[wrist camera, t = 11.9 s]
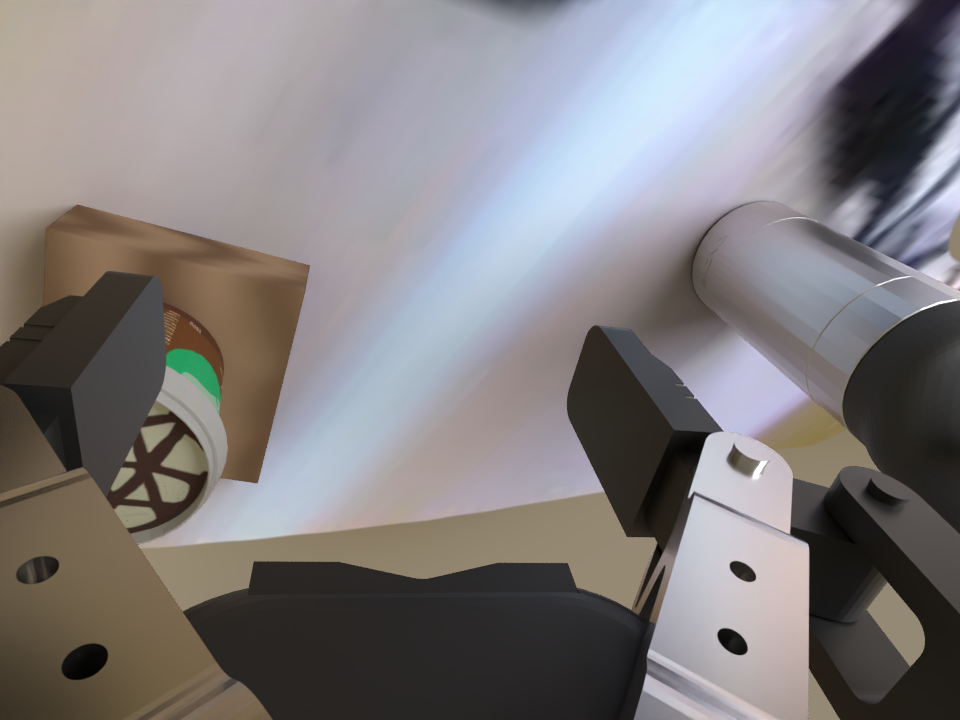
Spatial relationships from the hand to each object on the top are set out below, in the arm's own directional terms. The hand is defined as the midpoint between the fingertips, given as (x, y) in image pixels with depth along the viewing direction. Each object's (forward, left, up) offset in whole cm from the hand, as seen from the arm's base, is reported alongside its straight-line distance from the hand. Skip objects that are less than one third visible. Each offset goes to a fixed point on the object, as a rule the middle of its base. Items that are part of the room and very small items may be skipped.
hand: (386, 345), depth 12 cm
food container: (+9, +17, -26) cm, 32 cm away
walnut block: (+11, +18, -31) cm, 37 cm away
